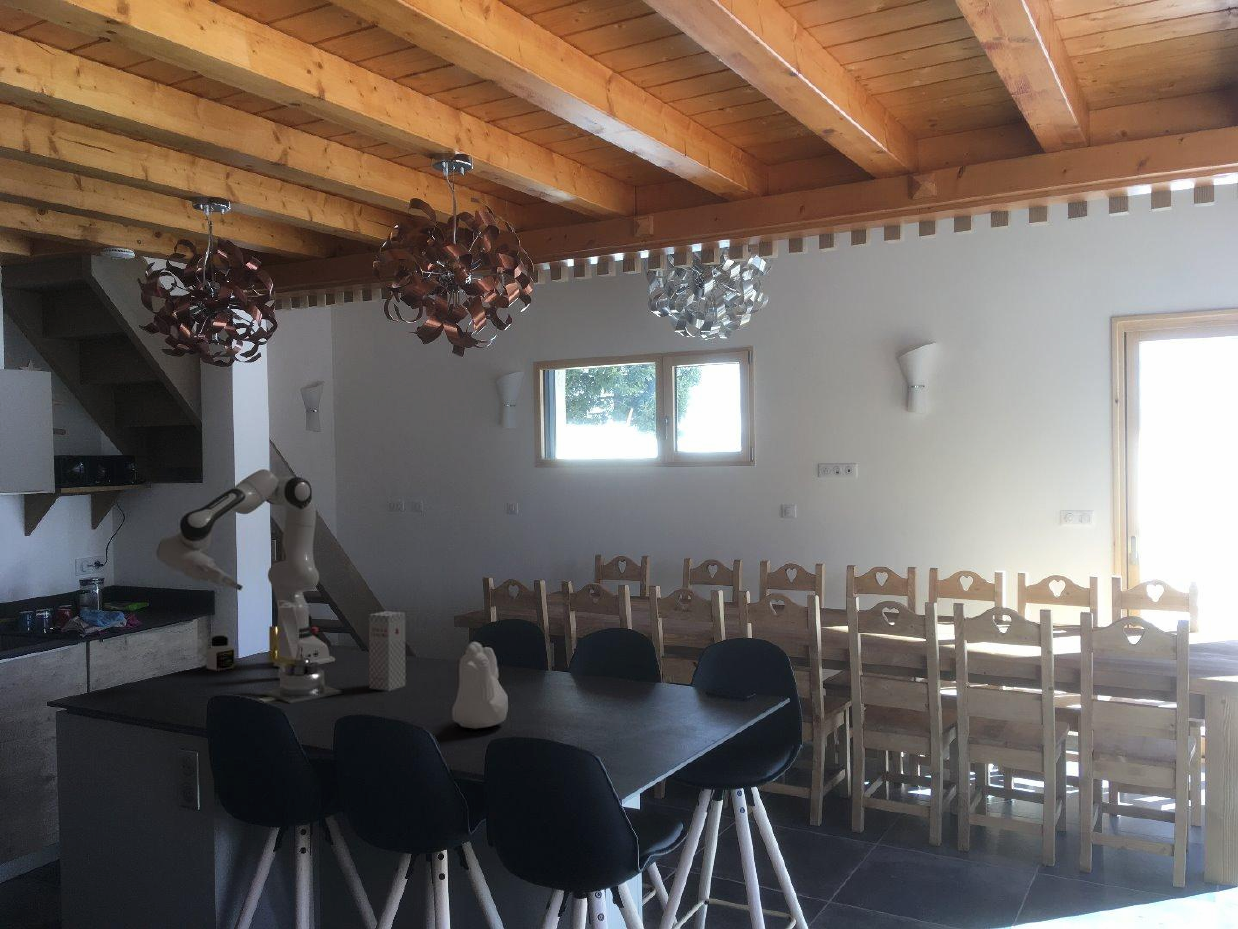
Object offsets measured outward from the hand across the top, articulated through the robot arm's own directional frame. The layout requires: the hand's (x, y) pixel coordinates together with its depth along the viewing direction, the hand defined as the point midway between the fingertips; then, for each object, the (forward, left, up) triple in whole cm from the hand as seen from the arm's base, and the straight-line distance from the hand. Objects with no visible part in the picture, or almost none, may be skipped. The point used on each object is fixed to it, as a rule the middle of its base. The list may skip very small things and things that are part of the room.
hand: (238, 587), depth 336 cm
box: (-34, +39, -34) cm, 62 cm away
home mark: (+3, +26, -34) cm, 43 cm away
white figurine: (-27, +101, -34) cm, 110 cm away
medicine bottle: (-9, -34, -34) cm, 49 cm away
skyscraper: (-18, +1, -34) cm, 39 cm away
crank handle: (-7, +23, -27) cm, 36 cm away
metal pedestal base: (-9, +27, -34) cm, 44 cm away
